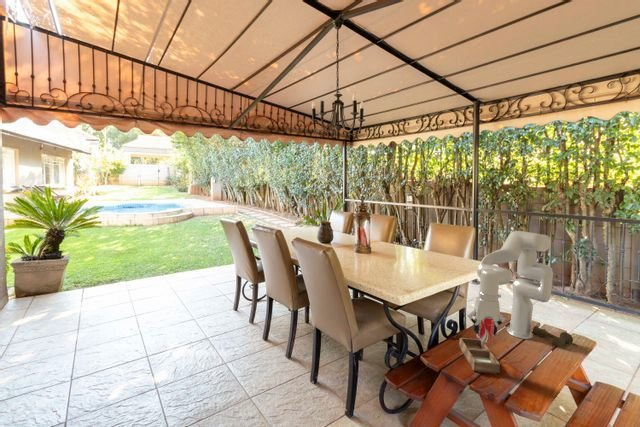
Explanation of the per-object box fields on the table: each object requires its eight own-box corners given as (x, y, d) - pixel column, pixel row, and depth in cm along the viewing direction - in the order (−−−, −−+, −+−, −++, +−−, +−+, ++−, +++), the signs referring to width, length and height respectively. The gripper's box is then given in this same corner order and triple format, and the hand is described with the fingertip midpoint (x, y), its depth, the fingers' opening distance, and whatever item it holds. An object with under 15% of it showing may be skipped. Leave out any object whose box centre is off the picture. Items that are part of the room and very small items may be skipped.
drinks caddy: (458, 345, 160) (459, 337, 160) (481, 347, 159) (481, 339, 158) (473, 371, 139) (474, 362, 139) (499, 373, 138) (500, 364, 138)
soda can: (472, 335, 146) (474, 311, 144) (486, 335, 146) (489, 311, 145) (481, 343, 139) (483, 318, 137) (496, 343, 139) (498, 318, 138)
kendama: (537, 332, 177) (580, 348, 160) (529, 337, 172) (573, 354, 155) (538, 322, 176) (581, 337, 159) (530, 326, 171) (574, 343, 154)
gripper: (504, 294, 142) (500, 330, 145) (465, 292, 145) (462, 327, 147) (512, 301, 135) (508, 338, 137) (471, 298, 137) (467, 335, 139)
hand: (484, 332), depth 142 cm, fingers closed on soda can, 7 cm apart
